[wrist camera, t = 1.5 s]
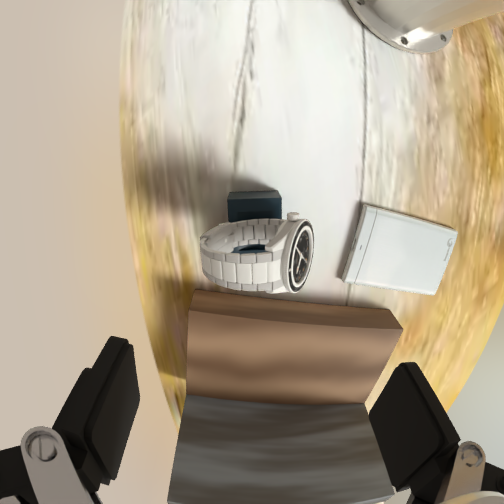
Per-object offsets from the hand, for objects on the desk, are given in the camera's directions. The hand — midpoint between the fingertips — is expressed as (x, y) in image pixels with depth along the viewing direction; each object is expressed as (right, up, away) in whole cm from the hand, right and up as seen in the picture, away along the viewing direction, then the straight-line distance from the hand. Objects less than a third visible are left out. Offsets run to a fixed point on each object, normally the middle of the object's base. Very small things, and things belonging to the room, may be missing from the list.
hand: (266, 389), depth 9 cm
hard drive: (+16, +5, +20) cm, 26 cm away
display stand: (+4, -7, +24) cm, 25 cm away
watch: (0, +8, +18) cm, 20 cm away
